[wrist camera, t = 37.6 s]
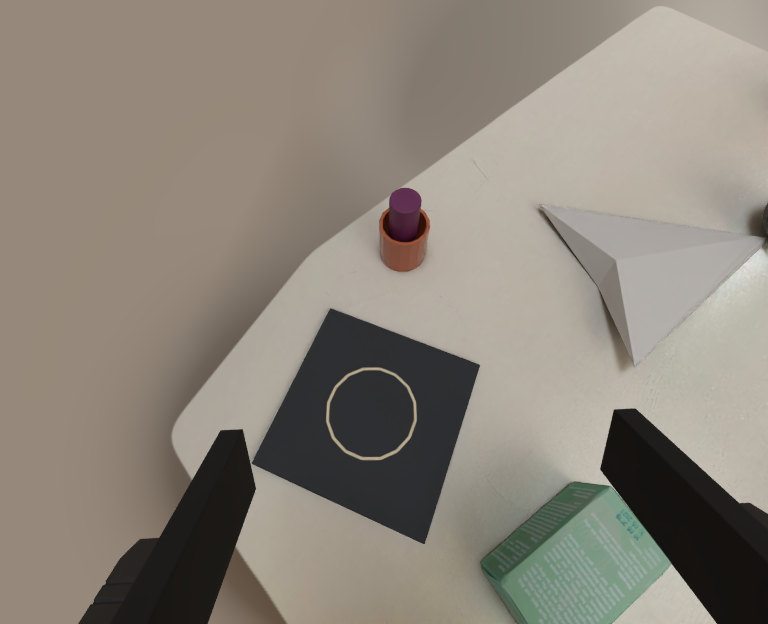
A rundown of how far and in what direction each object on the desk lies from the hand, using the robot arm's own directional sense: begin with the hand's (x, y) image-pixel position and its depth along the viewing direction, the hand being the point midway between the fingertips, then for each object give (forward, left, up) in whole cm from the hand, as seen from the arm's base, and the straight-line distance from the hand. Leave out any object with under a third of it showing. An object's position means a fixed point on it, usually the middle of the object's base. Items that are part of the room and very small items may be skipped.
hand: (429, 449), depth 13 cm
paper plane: (+19, +38, -30) cm, 52 cm away
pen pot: (-10, +26, -30) cm, 40 cm away
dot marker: (-10, +25, -29) cm, 40 cm away
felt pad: (-5, +4, -30) cm, 30 cm away
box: (+17, -2, -30) cm, 35 cm away
